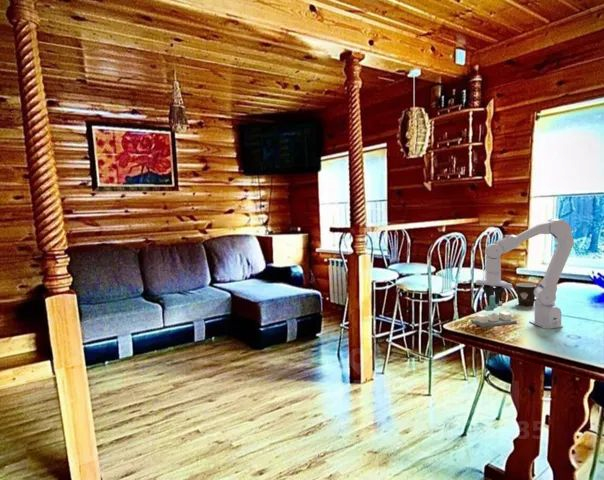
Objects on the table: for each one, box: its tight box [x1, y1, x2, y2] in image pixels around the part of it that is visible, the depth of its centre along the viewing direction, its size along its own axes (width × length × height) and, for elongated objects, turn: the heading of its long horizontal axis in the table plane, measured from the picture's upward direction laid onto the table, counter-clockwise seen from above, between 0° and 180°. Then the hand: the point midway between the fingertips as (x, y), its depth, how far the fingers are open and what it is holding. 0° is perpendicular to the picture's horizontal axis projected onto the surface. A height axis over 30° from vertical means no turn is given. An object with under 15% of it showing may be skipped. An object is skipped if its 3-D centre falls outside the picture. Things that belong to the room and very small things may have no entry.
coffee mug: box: [515, 282, 537, 308], centre depth 192 cm, size 12×9×10 cm
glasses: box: [484, 294, 503, 312], centre depth 170 cm, size 13×4×5 cm, turn 130°
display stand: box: [470, 311, 518, 328], centre depth 170 cm, size 16×8×4 cm, turn 100°
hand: (493, 303), depth 170 cm, fingers closed on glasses, 2 cm apart
